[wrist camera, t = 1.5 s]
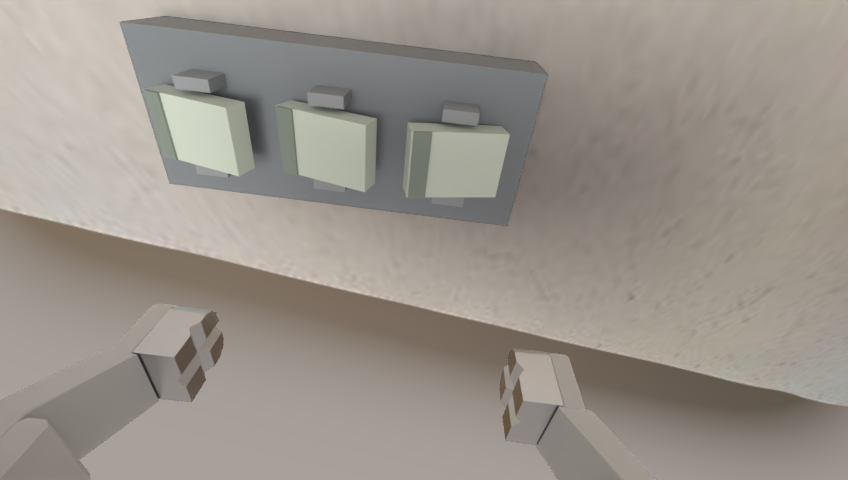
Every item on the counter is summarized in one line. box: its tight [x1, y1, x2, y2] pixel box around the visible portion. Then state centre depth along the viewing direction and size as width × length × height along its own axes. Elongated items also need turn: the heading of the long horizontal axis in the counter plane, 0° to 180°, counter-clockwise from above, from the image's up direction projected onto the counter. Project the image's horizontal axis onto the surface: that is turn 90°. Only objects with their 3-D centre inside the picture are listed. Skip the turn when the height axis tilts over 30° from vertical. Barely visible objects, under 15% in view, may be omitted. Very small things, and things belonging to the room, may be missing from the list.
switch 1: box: [143, 84, 255, 176], centre depth 22 cm, size 6×4×2 cm
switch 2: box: [275, 100, 377, 192], centre depth 22 cm, size 6×4×2 cm
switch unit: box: [120, 16, 548, 226], centre depth 25 cm, size 24×10×6 cm, turn 84°
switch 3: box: [403, 122, 510, 199], centre depth 22 cm, size 6×4×2 cm
